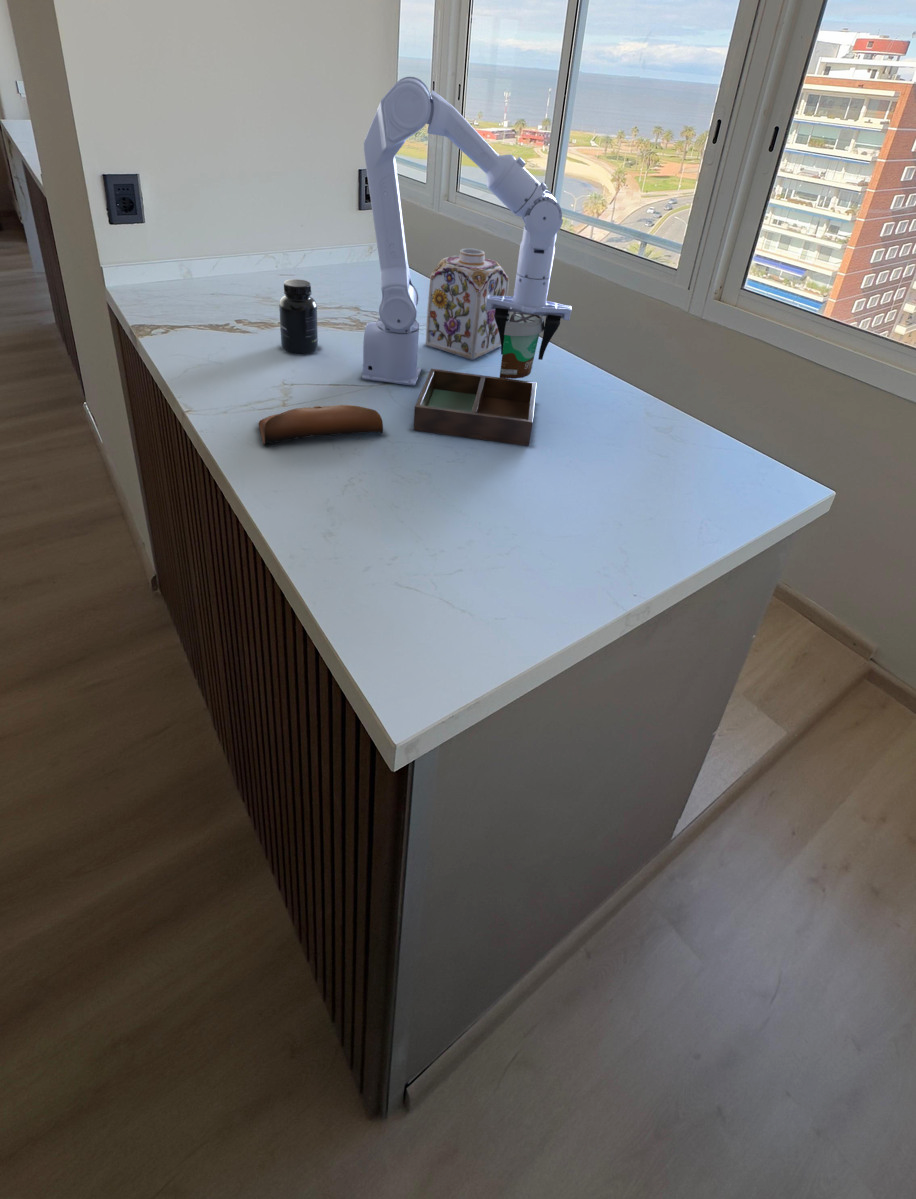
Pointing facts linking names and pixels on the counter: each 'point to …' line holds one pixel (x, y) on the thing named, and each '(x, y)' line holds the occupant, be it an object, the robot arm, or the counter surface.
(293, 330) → the supplement bottle
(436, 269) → the decorative jar
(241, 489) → the counter surface
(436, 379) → the organiser tray
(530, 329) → the food container
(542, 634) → the counter surface
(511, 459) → the counter surface
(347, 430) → the sunglasses case
